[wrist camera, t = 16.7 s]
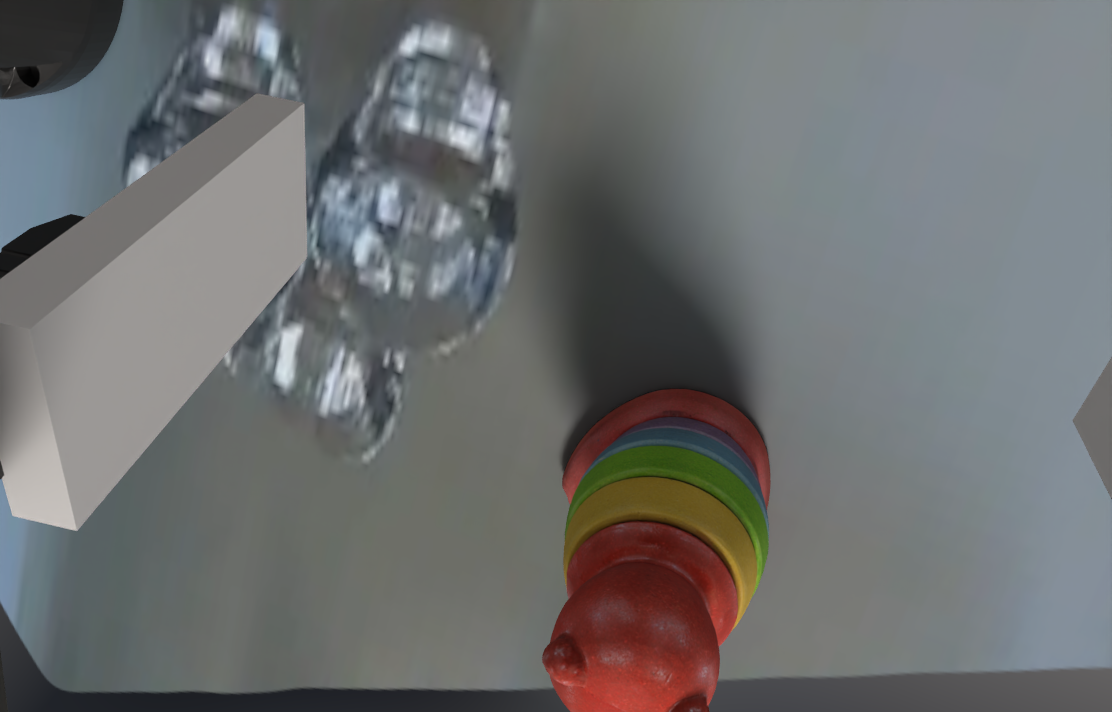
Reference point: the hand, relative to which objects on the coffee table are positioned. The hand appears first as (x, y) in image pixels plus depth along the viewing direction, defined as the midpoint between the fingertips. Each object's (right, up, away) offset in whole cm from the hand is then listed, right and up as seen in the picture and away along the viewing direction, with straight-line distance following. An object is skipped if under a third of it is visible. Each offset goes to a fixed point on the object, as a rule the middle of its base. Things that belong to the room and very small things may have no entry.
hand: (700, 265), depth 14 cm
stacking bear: (+4, -7, +34) cm, 35 cm away
